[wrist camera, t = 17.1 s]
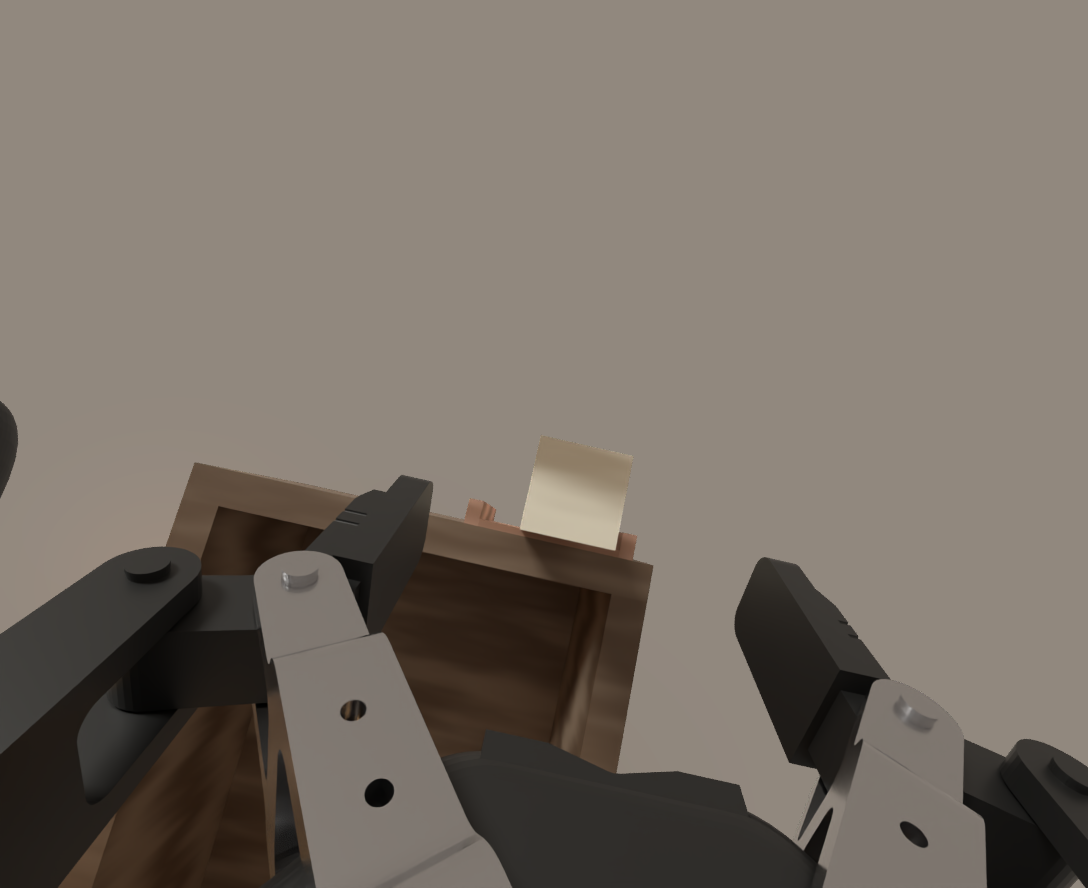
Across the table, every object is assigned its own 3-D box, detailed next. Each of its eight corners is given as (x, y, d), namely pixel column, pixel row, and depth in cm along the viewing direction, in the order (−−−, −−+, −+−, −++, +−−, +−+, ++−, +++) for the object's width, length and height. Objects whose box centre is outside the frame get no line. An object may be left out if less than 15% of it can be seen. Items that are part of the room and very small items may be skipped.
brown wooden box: (525, 1281, 22) (657, 540, 28) (-47, 1160, 22) (203, 438, 28) (523, 992, 36) (612, 535, 42) (171, 916, 36) (308, 467, 42)
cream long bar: (615, 550, 18) (633, 456, 18) (519, 529, 18) (541, 435, 18) (561, 536, 42) (570, 495, 42) (520, 527, 41) (530, 486, 42)
